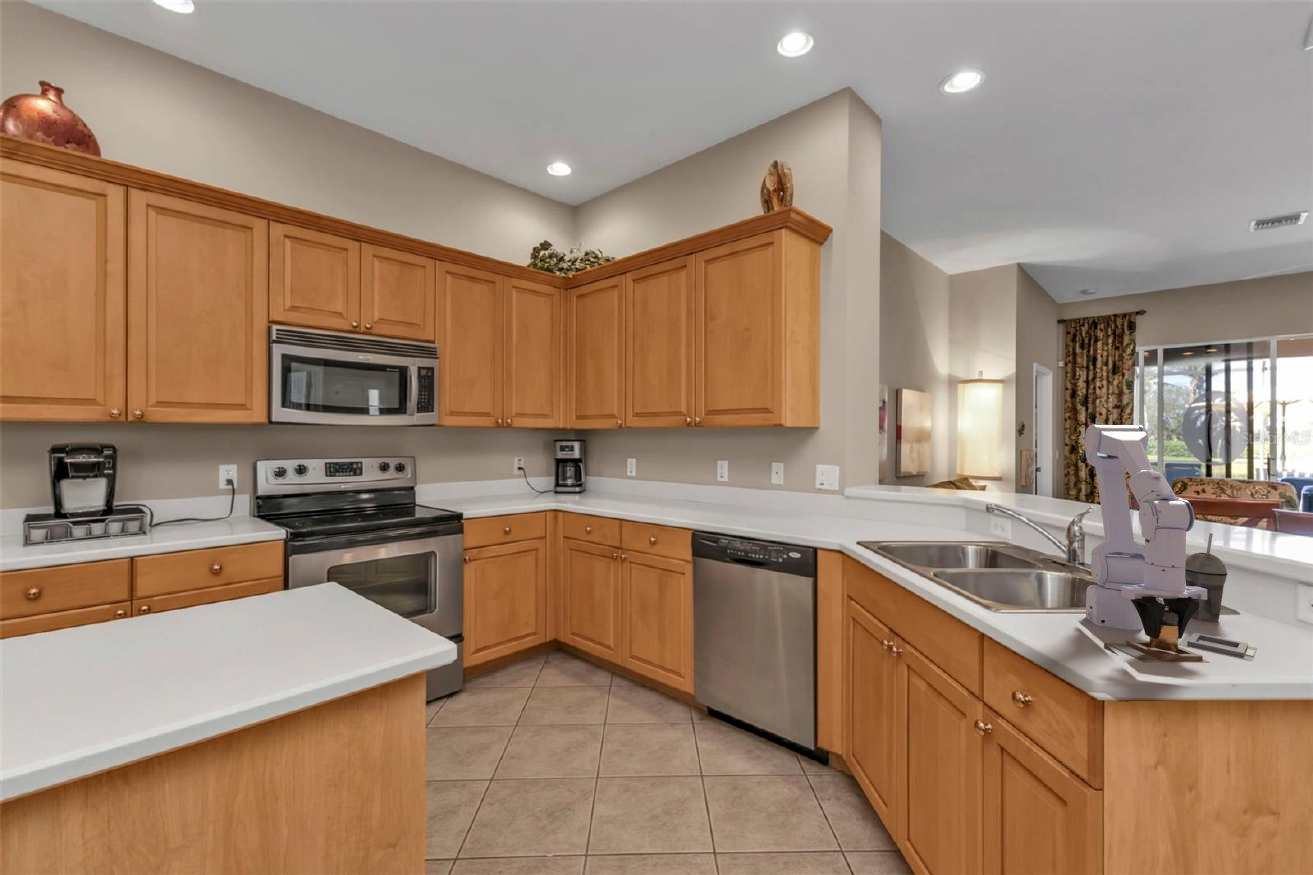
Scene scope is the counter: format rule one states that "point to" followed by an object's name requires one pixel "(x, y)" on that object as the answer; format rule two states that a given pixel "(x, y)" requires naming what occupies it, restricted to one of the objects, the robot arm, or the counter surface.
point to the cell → (1167, 631)
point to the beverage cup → (1206, 582)
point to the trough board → (1154, 652)
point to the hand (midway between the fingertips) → (1163, 636)
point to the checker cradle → (1219, 646)
